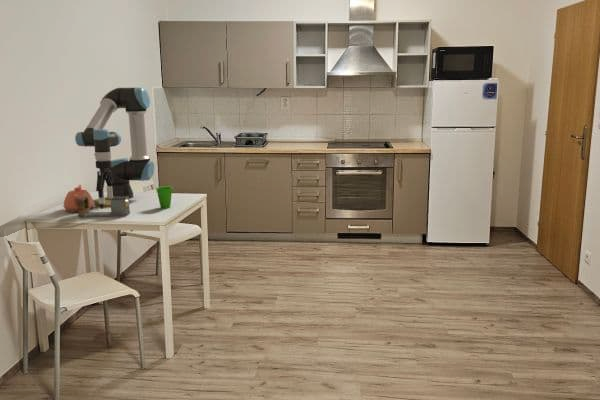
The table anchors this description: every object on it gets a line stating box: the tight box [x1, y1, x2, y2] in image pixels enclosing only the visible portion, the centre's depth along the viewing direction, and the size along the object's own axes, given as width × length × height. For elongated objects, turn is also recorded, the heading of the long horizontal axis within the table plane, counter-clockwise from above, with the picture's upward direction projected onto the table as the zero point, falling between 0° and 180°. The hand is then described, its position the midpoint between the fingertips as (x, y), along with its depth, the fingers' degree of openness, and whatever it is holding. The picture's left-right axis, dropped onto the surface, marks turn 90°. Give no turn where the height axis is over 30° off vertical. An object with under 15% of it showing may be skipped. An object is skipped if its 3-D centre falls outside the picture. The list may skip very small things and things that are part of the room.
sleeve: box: [109, 196, 131, 216], centre depth 284 cm, size 7×8×9 cm
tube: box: [94, 199, 130, 210], centre depth 283 cm, size 5×16×5 cm, turn 92°
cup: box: [155, 186, 174, 210], centre depth 300 cm, size 9×9×11 cm
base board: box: [81, 211, 129, 218], centre depth 284 cm, size 8×24×1 cm, turn 92°
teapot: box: [63, 184, 95, 213], centre depth 297 cm, size 22×15×12 cm
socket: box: [77, 195, 91, 218], centre depth 283 cm, size 8×3×10 cm, turn 2°
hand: (106, 201), depth 283 cm, fingers open, 13 cm apart
